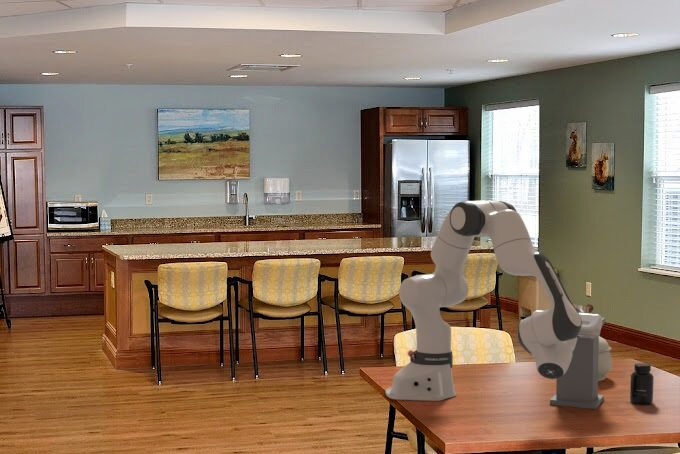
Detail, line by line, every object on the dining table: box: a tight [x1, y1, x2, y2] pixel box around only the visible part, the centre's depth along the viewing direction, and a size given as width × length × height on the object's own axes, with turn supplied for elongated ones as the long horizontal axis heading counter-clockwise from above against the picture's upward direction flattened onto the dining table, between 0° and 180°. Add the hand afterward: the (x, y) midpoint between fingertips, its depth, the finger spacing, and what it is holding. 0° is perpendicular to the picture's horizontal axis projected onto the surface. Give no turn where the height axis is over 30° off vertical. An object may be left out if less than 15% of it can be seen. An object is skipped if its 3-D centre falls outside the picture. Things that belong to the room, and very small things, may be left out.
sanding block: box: [572, 303, 589, 314], centre depth 300 cm, size 21×4×3 cm, turn 155°
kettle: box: [584, 304, 613, 382], centre depth 343 cm, size 25×18×25 cm
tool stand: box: [549, 317, 606, 410], centre depth 305 cm, size 13×14×26 cm
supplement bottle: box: [629, 362, 655, 406], centre depth 306 cm, size 7×7×12 cm
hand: (571, 306), depth 294 cm, fingers closed on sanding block, 4 cm apart
